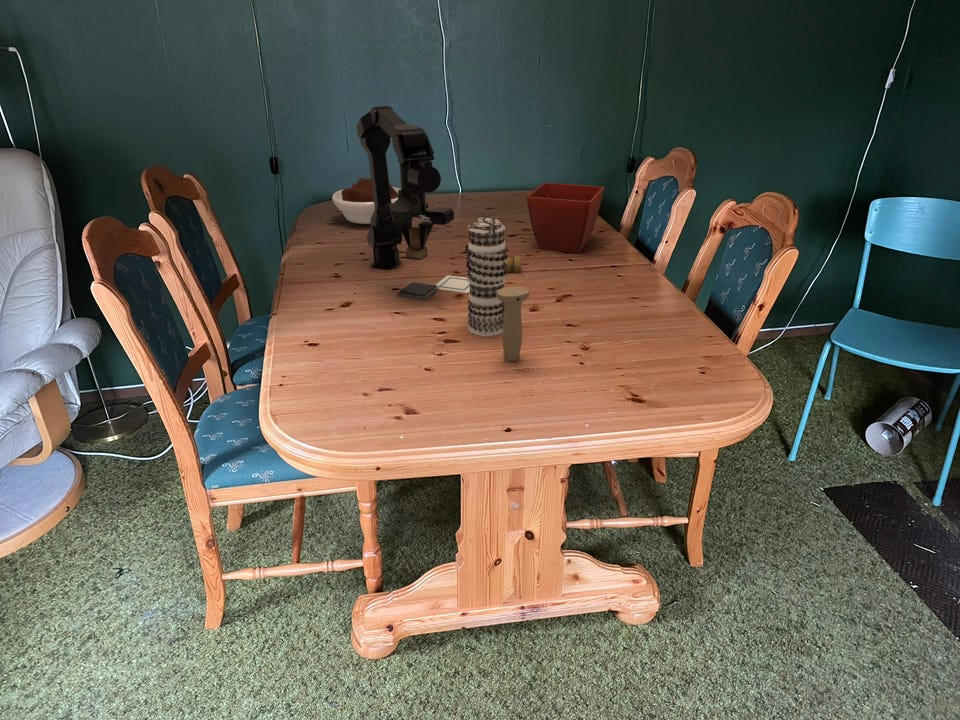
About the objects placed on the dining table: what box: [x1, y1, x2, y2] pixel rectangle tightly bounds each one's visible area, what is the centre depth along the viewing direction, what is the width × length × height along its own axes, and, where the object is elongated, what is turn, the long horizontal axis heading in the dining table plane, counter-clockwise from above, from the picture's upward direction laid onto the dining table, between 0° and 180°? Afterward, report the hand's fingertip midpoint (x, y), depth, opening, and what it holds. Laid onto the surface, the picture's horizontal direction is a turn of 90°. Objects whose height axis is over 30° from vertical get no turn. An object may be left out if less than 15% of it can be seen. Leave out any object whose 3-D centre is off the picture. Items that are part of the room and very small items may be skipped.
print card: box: [435, 274, 470, 295], centre depth 170 cm, size 10×10×1 cm
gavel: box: [503, 255, 522, 274], centre depth 186 cm, size 21×5×10 cm
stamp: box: [405, 226, 429, 262], centre depth 159 cm, size 4×4×7 cm
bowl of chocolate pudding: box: [331, 177, 401, 225], centre depth 221 cm, size 25×25×15 cm
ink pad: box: [396, 281, 439, 302], centre depth 165 cm, size 8×8×1 cm
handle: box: [497, 285, 530, 363], centre depth 129 cm, size 5×6×15 cm
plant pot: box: [526, 182, 605, 254], centre depth 195 cm, size 19×19×17 cm
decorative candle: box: [464, 216, 509, 337], centre depth 140 cm, size 9×9×25 cm
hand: (416, 247), depth 160 cm, fingers closed on stamp, 3 cm apart
